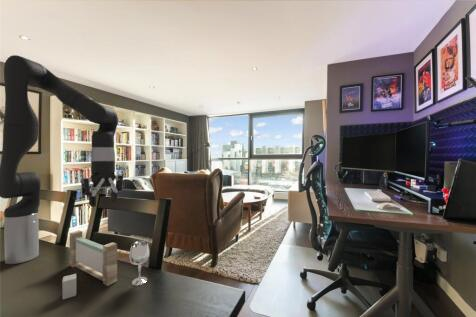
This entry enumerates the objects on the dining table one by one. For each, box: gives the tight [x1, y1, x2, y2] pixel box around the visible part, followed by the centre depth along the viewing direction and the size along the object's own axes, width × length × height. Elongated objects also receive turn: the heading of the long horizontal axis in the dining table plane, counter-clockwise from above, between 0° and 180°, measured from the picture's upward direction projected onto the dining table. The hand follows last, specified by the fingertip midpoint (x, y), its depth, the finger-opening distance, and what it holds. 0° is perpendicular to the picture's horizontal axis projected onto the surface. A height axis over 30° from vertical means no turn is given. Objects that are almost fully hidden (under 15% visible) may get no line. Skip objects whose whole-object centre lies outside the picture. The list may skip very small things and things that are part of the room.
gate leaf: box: [76, 236, 104, 275], centre depth 72 cm, size 18×2×8 cm, turn 61°
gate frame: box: [69, 230, 118, 287], centre depth 72 cm, size 24×3×12 cm, turn 61°
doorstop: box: [61, 273, 77, 300], centre depth 61 cm, size 3×3×5 cm
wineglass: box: [129, 240, 150, 286], centre depth 68 cm, size 6×6×12 cm
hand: (103, 204), depth 79 cm, fingers open, 6 cm apart
